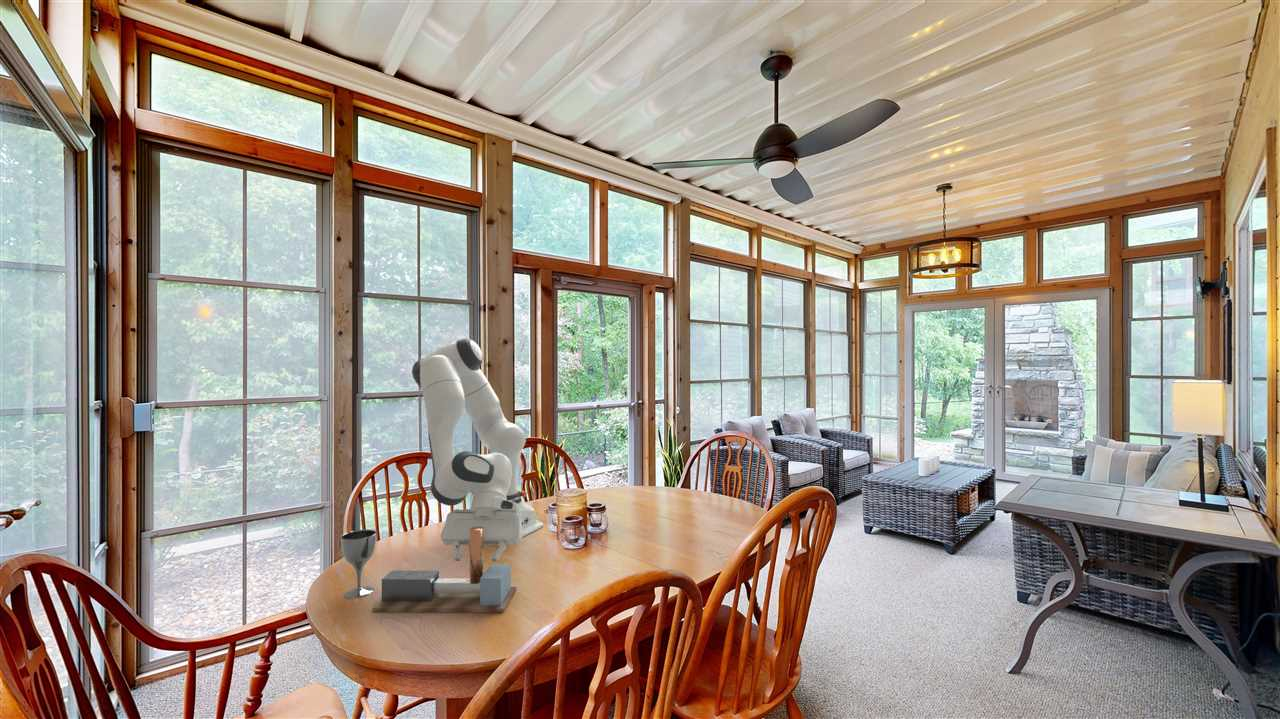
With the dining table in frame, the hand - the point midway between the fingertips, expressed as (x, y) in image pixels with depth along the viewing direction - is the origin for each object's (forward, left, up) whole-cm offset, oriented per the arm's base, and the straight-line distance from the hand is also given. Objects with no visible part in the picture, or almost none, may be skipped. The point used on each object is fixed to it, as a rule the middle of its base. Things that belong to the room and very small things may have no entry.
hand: (475, 560), depth 130 cm
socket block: (-3, +4, -9) cm, 11 cm away
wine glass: (+13, -30, -11) cm, 34 cm away
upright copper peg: (+2, -4, -8) cm, 9 cm away
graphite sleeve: (+8, -14, -9) cm, 19 cm away
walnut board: (+3, -6, -10) cm, 13 cm away
